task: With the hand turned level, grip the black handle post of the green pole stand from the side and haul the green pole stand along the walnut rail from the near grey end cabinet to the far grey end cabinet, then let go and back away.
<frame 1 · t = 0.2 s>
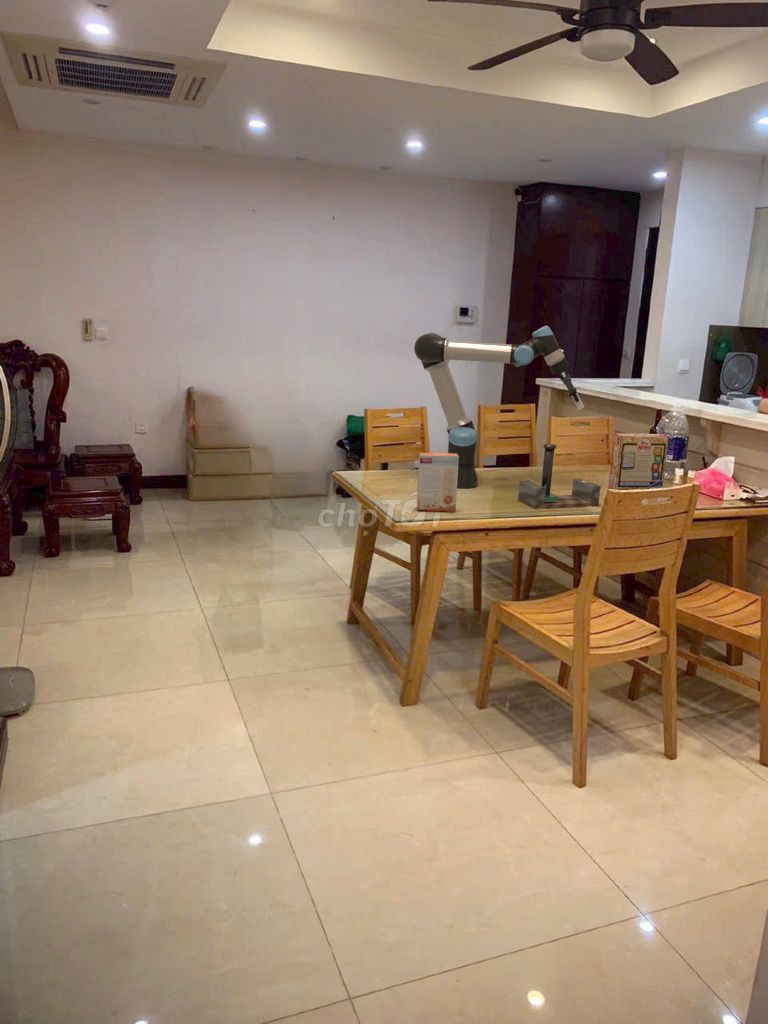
hand: (580, 407, 315), 34 cm above the table, tool tilted 35°, fingers open, 13 cm apart
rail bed: (557, 503, 295), on the table
green pole stand: (547, 472, 290), point 13 cm above the table, slide at -6.0 cm
cracker box: (435, 510, 277), on the table
board game box: (633, 501, 305), on the table
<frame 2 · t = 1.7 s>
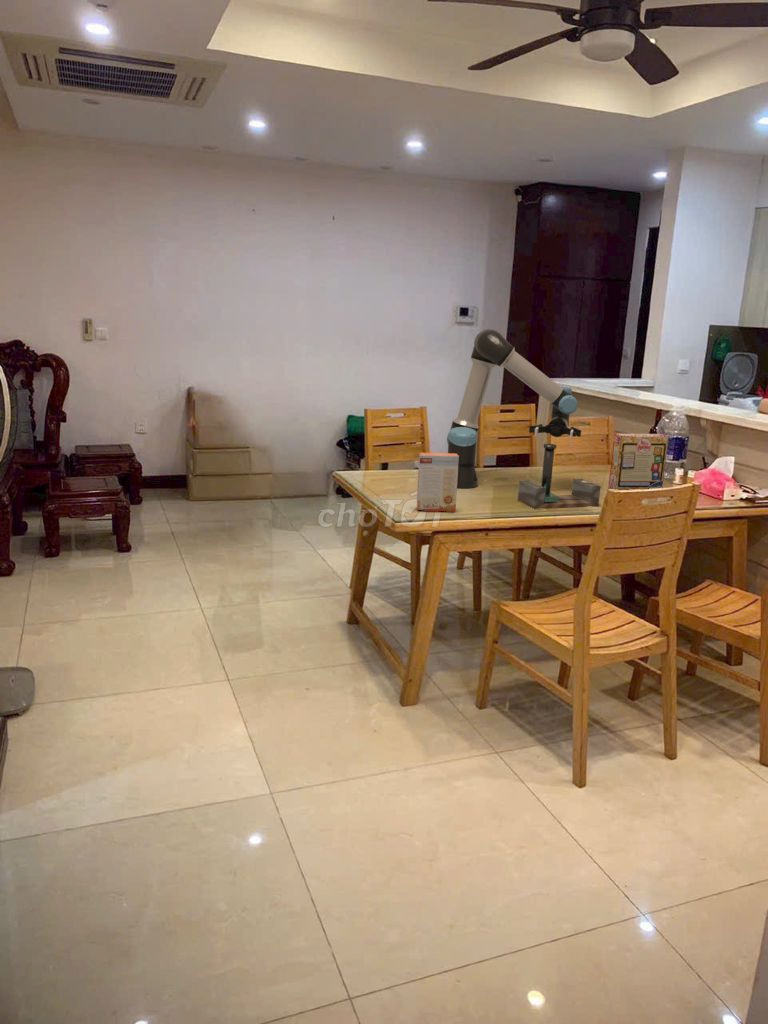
hand: (553, 434, 296), 26 cm above the table, tool horizontal, fingers open, 13 cm apart
nothing on the table moved.
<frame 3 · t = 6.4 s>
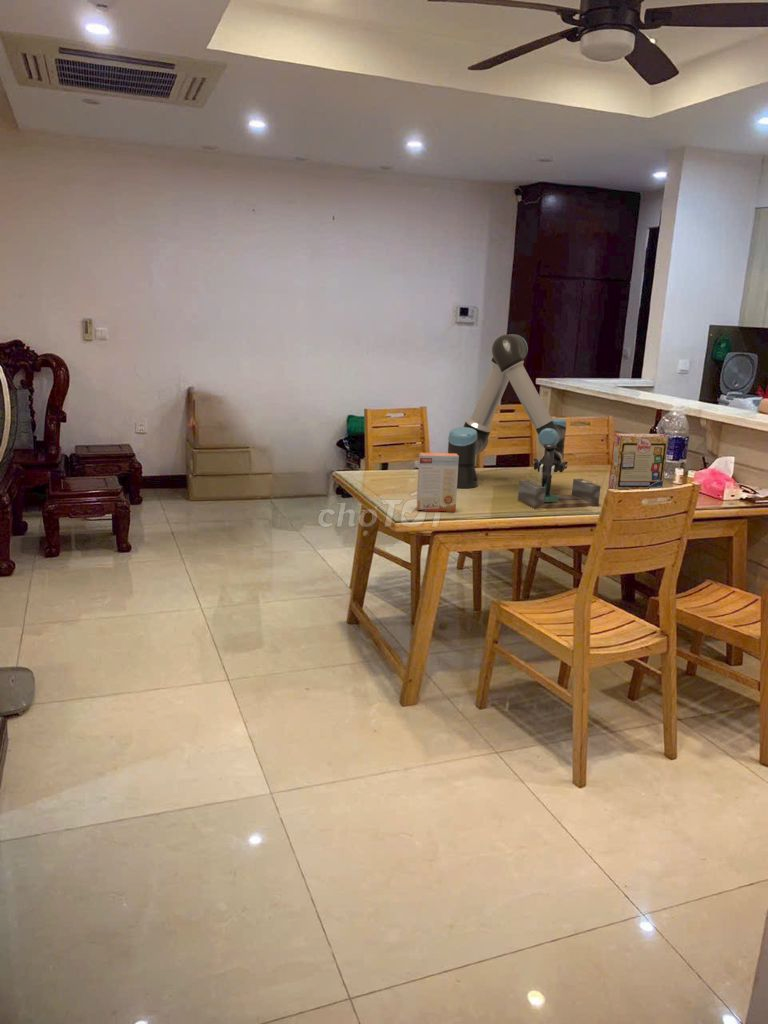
hand: (546, 471, 285), 14 cm above the table, tool horizontal, fingers closed on green pole stand, 4 cm apart
green pole stand: (547, 472, 290), point 13 cm above the table, slide at -6.0 cm, touching gripper
everything else where it was.
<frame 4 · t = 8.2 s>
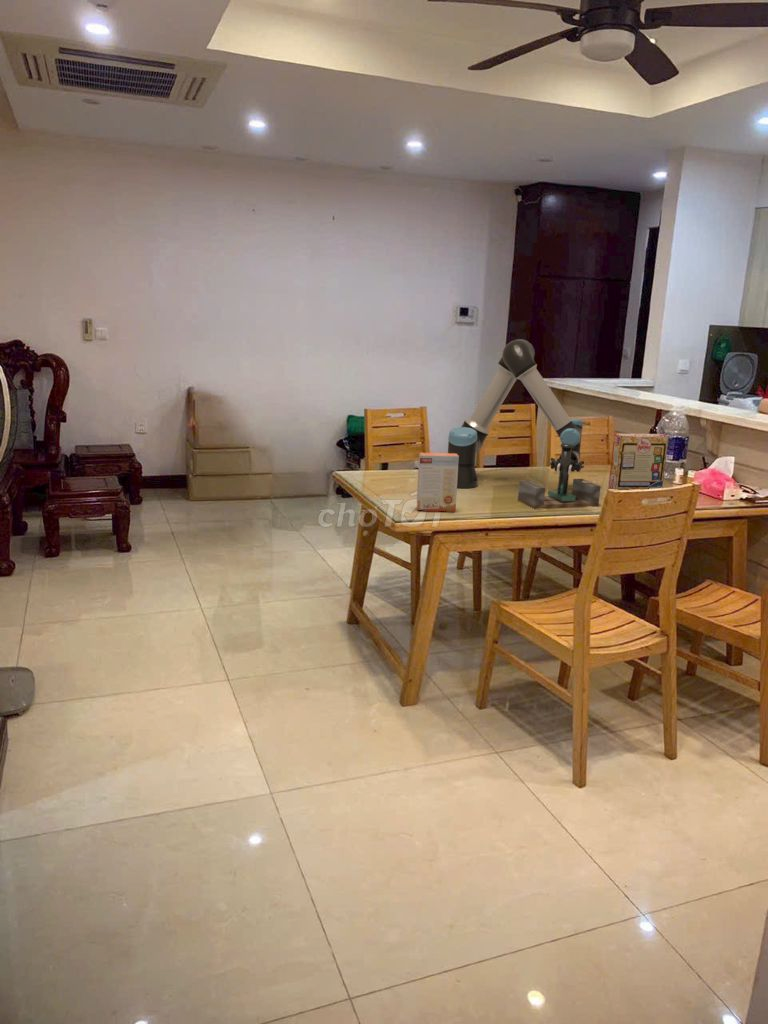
hand: (563, 470, 287), 14 cm above the table, tool horizontal, fingers closed on green pole stand, 4 cm apart
green pole stand: (564, 471, 292), point 13 cm above the table, slide at 1.4 cm, touching gripper
everything else where it was.
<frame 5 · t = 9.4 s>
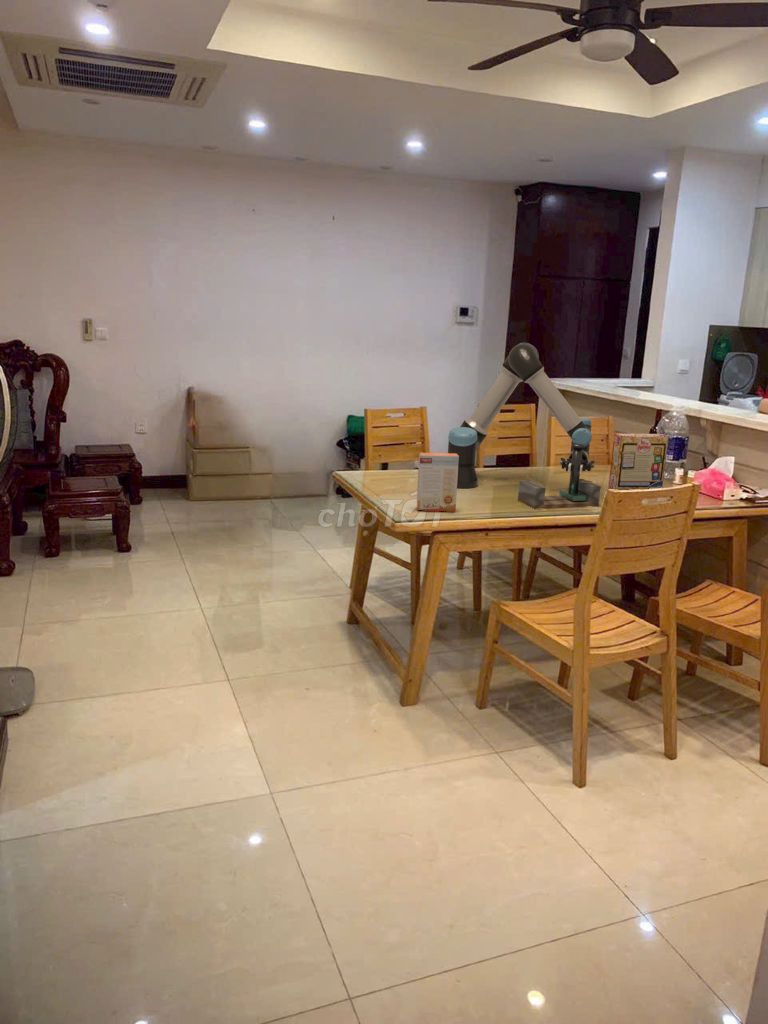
hand: (575, 470, 288), 14 cm above the table, tool horizontal, fingers closed on green pole stand, 4 cm apart
green pole stand: (575, 471, 294), point 13 cm above the table, slide at 6.3 cm, touching gripper
everything else where it was.
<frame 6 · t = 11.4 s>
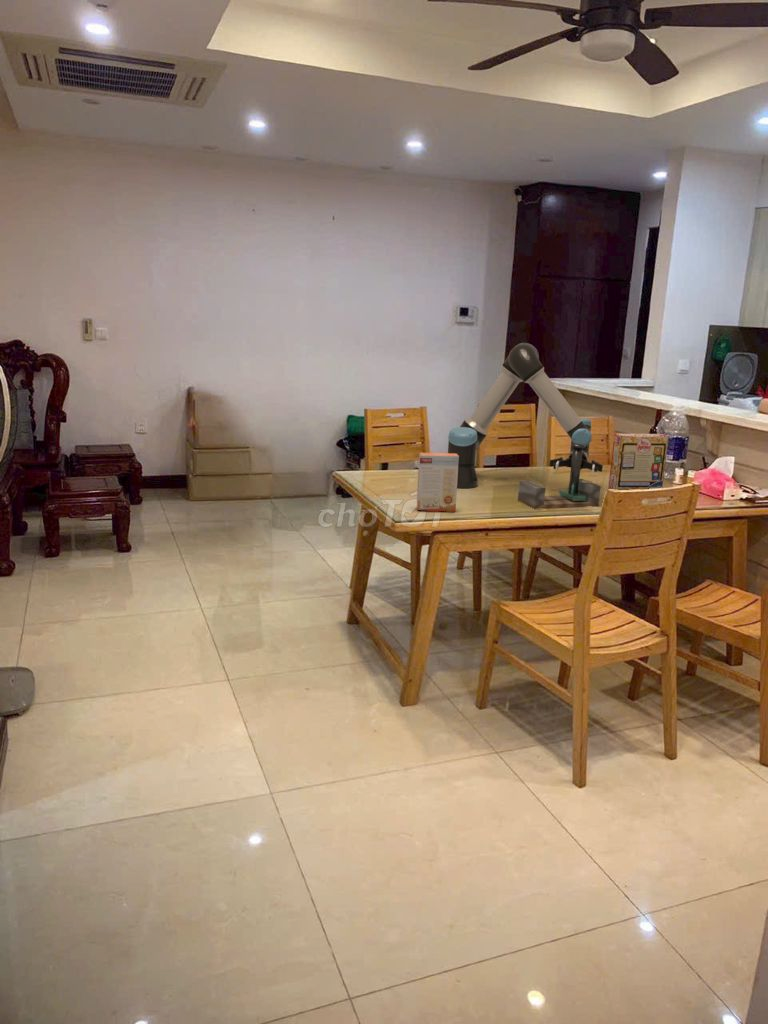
hand: (574, 469, 290), 14 cm above the table, tool horizontal, fingers open, 13 cm apart
green pole stand: (575, 471, 294), point 13 cm above the table, slide at 6.3 cm
everything else where it was.
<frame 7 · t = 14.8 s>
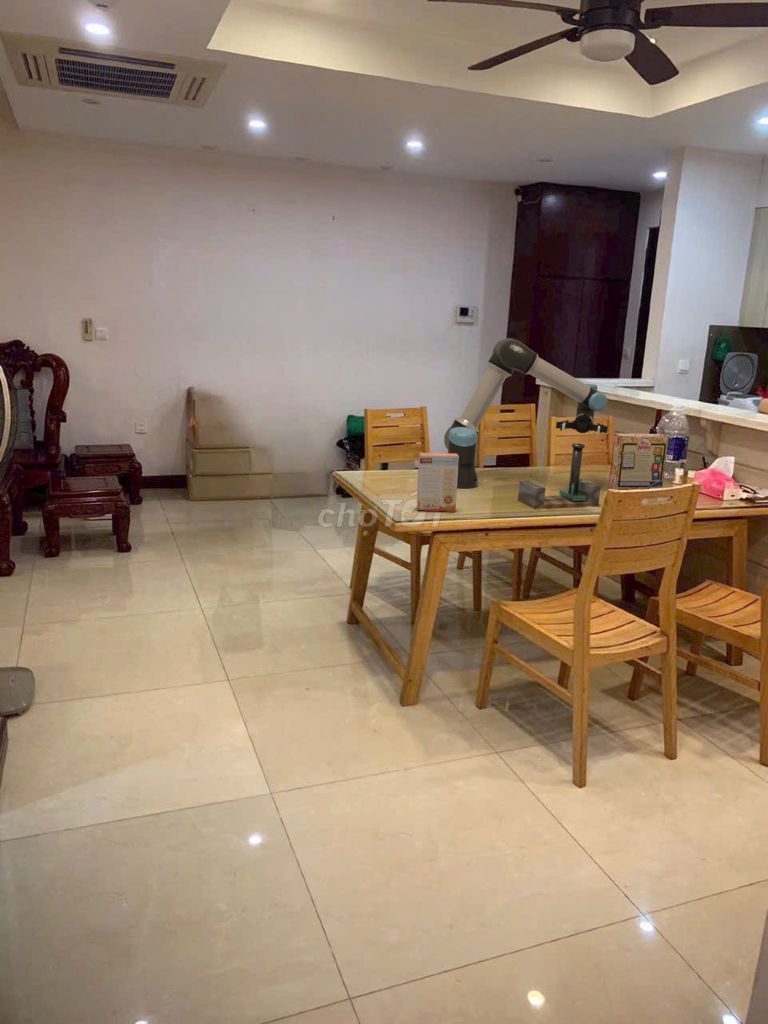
hand: (580, 429, 299), 27 cm above the table, tool horizontal, fingers open, 13 cm apart
nothing on the table moved.
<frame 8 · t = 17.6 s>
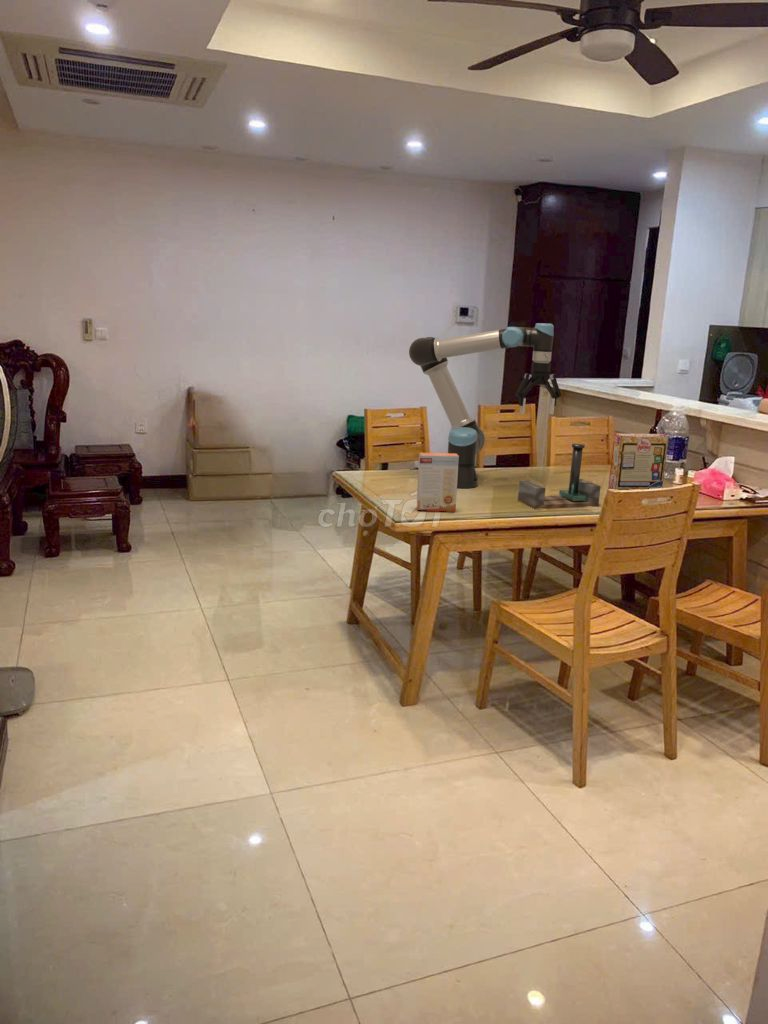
hand: (536, 413, 316), 31 cm above the table, tool pointing down, fingers open, 13 cm apart
nothing on the table moved.
at the end: green pole stand slide at 6.3 cm; the gripper is holding nothing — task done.
